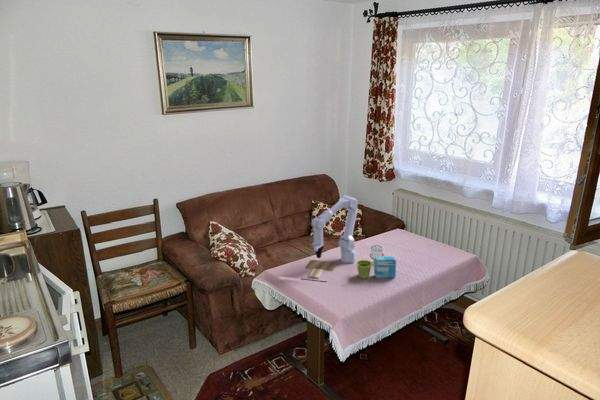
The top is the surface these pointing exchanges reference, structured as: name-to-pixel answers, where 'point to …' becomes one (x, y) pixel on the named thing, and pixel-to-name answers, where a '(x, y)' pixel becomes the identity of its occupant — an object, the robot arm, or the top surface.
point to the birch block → (316, 273)
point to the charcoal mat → (314, 280)
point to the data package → (385, 267)
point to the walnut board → (321, 265)
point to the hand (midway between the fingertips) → (318, 257)
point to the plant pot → (364, 268)
